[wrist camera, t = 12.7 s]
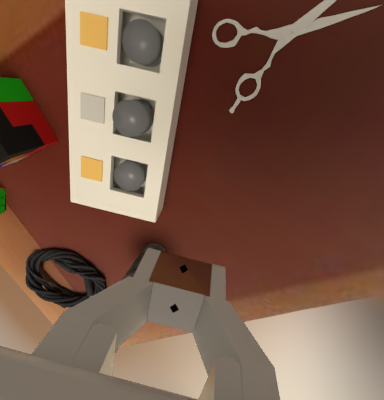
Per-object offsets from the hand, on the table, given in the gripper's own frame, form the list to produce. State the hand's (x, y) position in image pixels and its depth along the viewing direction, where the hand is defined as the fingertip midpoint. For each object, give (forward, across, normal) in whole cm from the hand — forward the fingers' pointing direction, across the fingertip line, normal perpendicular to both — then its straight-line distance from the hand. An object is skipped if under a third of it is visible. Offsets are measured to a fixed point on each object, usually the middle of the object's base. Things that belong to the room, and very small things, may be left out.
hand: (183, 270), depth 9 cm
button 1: (+28, +11, -10) cm, 31 cm away
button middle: (+26, +11, -1) cm, 28 cm away
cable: (+30, +24, +36) cm, 52 cm away
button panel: (+29, +13, -1) cm, 32 cm away
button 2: (+28, +11, +7) cm, 31 cm away
